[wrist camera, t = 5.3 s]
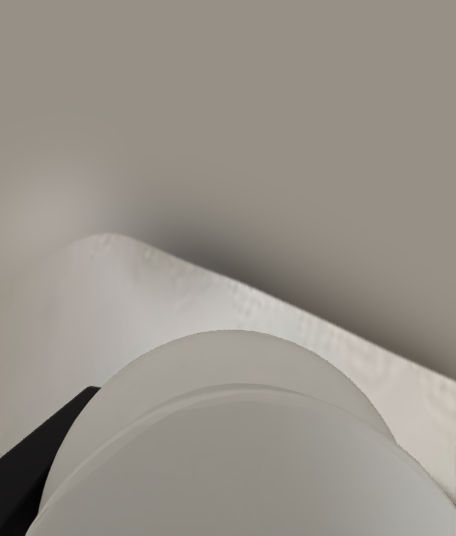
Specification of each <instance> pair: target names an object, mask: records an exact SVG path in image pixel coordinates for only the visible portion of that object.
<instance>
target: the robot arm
mask: <svg viewBox="0 0 456 536" xmlns="http://www.w3.org/2000/svg"><path fill="white" fill-rule="evenodd" d="M100 389H101V387H95V386H89V387H87V388H86V389H84V390H83V391H82V392H81V393H80V394H78V395H77V396H76V397H75V398H73V399H72V400H71V401H70V402H69V403H67V404H66V405H65V406H64V407H62V408H61V409H60V410H59V411H58V412H56V413H55V414H54V415H53V416H51V417H50V418H49V419H48V420H46V421H45V422H44V423H43V424H42V425H40V426H39V427H38V428H37V429H35V430H34V431H33V432H32V433H31V434H29V435H28V436H27V437H26V438H24V439H23V440H22V441H21V442H20V443H18V444H17V445H16V446H15V447H13V448H12V449H11V450H10V451H9V452H7V453H6V454H5V455H4V456H2V457H1V458H0V536H25V535H26V533H27V531H28V529H29V527H30V526H31V524H32V523H33V521H34V520H35V518H36V517H37V516H38V511H39V506H40V502H41V498H42V494H43V490H44V487H45V483H46V480H47V477H48V475H49V472H50V469H51V466H52V464H53V461H54V459H55V457H56V454H57V452H58V450H59V448H60V446H61V444H62V442H63V441H64V439H65V437H66V435H67V433H68V431H69V430H70V428H71V426H72V425H73V423H74V421H75V420H76V418H77V417H78V416H79V414H80V413H81V411H82V410H83V409H84V408H85V406H86V405H87V404H88V402H89V401H90V400H91V399H92V398H93V397H94V395H95V394H96V393H97V392H98V391H99V390H100Z"/></svg>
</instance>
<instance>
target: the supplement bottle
mask: <svg viewBox="0 0 456 536" xmlns="http://www.w3.org/2000/svg"><path fill="white" fill-rule="evenodd" d="M25 536H456V506H455V505H454V504H453V502H452V501H451V500H450V499H449V497H448V496H447V495H446V493H445V492H444V491H443V489H442V488H441V487H440V486H439V485H438V484H437V482H436V481H435V480H434V479H433V478H432V477H431V476H430V475H429V474H428V472H427V471H426V470H425V469H424V468H423V467H422V466H421V465H420V464H419V462H418V461H417V460H415V459H414V458H413V457H412V456H411V455H410V454H409V453H408V452H407V451H405V450H404V449H403V448H402V447H401V446H400V445H398V444H397V442H396V440H395V438H394V436H393V435H392V433H391V431H390V430H389V428H388V426H387V424H386V423H385V421H384V420H383V418H382V417H381V415H380V414H379V412H378V411H377V410H376V408H375V407H374V406H373V404H372V403H371V402H370V400H369V399H368V398H367V396H366V395H365V394H364V393H363V392H362V391H361V390H360V389H359V388H358V387H357V386H356V385H355V384H354V383H353V382H352V381H351V380H350V379H349V378H348V377H347V376H346V375H345V374H343V373H342V372H341V371H340V370H339V369H337V368H336V367H335V366H333V365H332V364H331V363H329V362H328V361H327V360H325V359H323V358H322V357H320V356H319V355H317V354H316V353H314V352H312V351H310V350H308V349H306V348H304V347H302V346H300V345H298V344H296V343H293V342H291V341H288V340H285V339H282V338H279V337H276V336H272V335H269V334H264V333H259V332H254V331H244V330H217V331H209V332H202V333H197V334H193V335H189V336H186V337H183V338H180V339H177V340H173V341H171V342H169V343H166V344H164V345H161V346H159V347H157V348H155V349H153V350H151V351H149V352H147V353H146V354H144V355H142V356H140V357H139V358H137V359H135V360H134V361H132V362H131V363H129V364H128V365H127V366H126V367H124V368H123V369H122V370H121V371H119V372H118V373H117V374H116V375H114V376H113V377H112V378H111V379H110V380H109V381H108V382H107V383H106V384H105V385H104V386H103V387H102V388H101V389H100V390H99V391H98V392H97V393H96V394H95V395H94V397H93V398H92V399H91V400H90V401H89V402H88V404H87V405H86V406H85V408H84V409H83V410H82V411H81V413H80V414H79V416H78V417H77V418H76V420H75V421H74V423H73V425H72V426H71V428H70V430H69V431H68V433H67V435H66V437H65V439H64V441H63V442H62V444H61V446H60V448H59V450H58V452H57V454H56V457H55V459H54V461H53V464H52V466H51V469H50V472H49V475H48V477H47V480H46V483H45V487H44V490H43V494H42V498H41V502H40V506H39V511H38V516H37V517H36V518H35V520H34V521H33V523H32V524H31V526H30V527H29V529H28V531H27V533H26V535H25Z"/></svg>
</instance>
